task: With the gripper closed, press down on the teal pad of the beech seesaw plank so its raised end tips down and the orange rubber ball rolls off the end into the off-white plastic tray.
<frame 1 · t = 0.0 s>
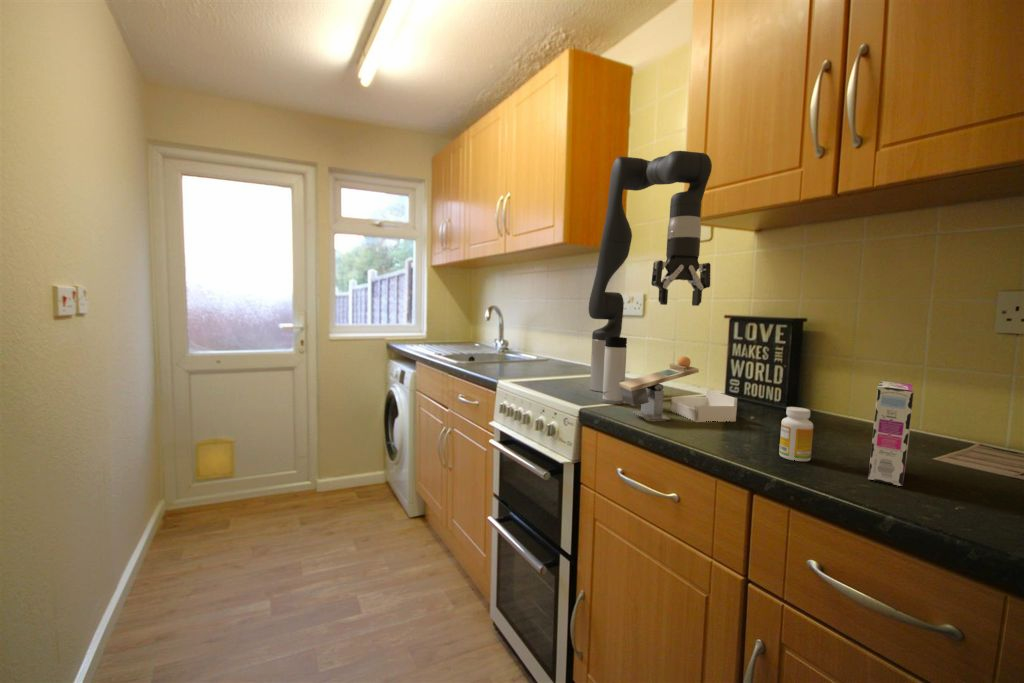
hand: (679, 305, 115), 29 cm above the worktop, tool pointing down, fingers open, 8 cm apart
ball: (684, 362, 124), point 14 cm above the worktop, touching lever
supplement bottle: (794, 458, 93), on the worktop
fulcrum: (651, 416, 124), on the worktop
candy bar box: (886, 477, 84), on the worktop
lever: (659, 382, 123), point 9 cm above the worktop, hinge at -15.0°, touching ball
tray: (701, 416, 127), on the worktop
travel mug: (612, 403, 141), on the worktop
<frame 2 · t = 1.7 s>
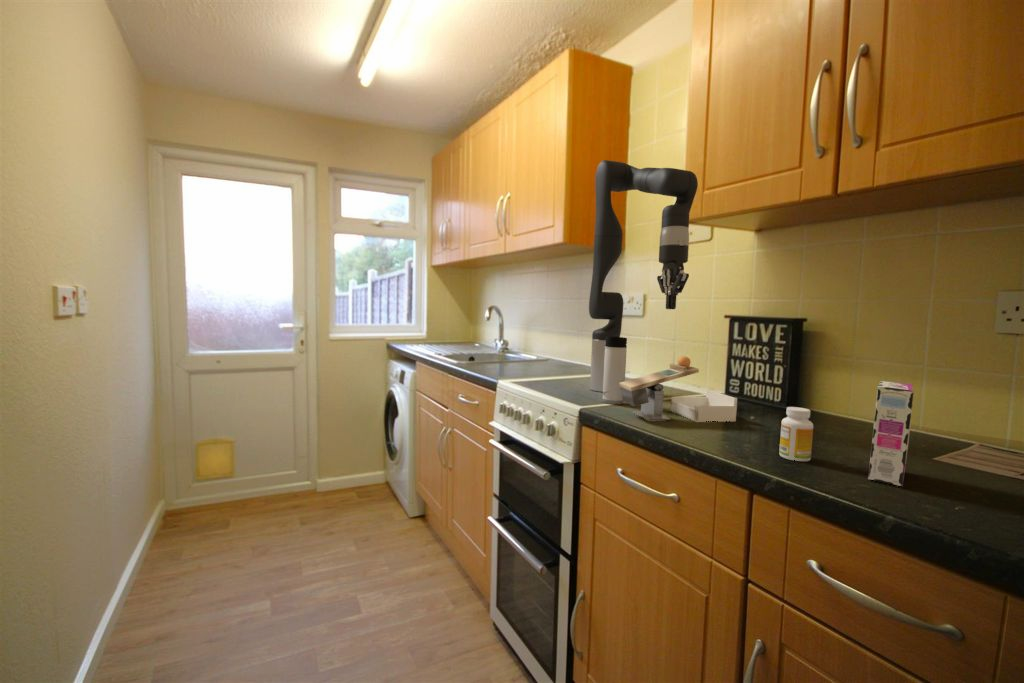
hand: (670, 309, 129), 28 cm above the worktop, tool pointing down, fingers closed
nothing on the worktop moved.
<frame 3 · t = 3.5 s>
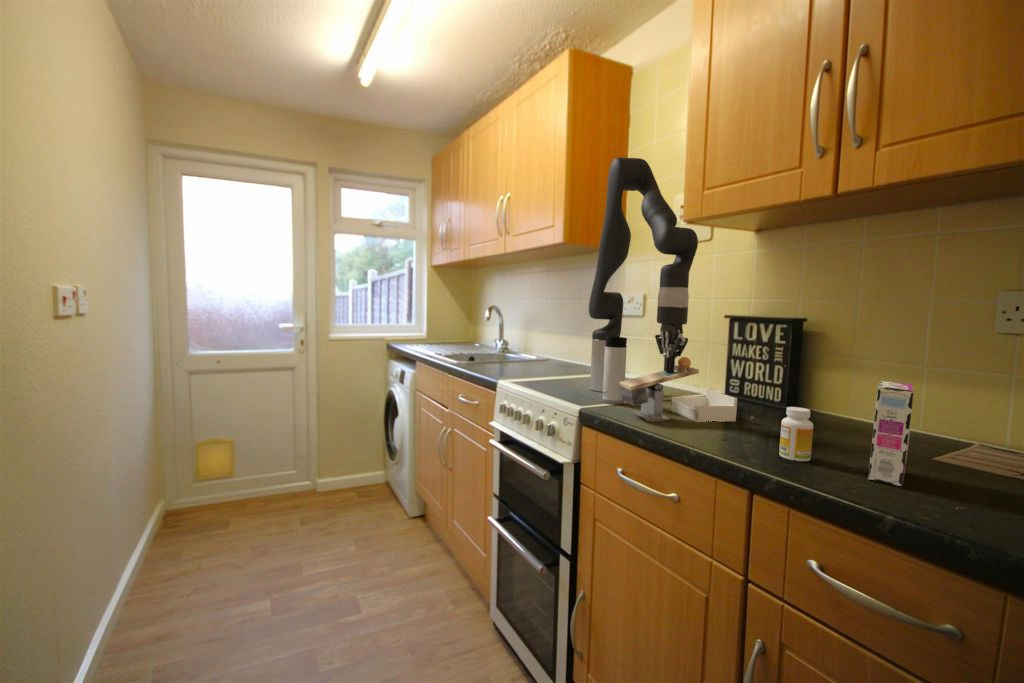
hand: (668, 371, 124), 12 cm above the worktop, tool pointing down, fingers closed
lever: (659, 382, 123), point 9 cm above the worktop, hinge at -13.7°, touching ball, gripper
everything else where it was.
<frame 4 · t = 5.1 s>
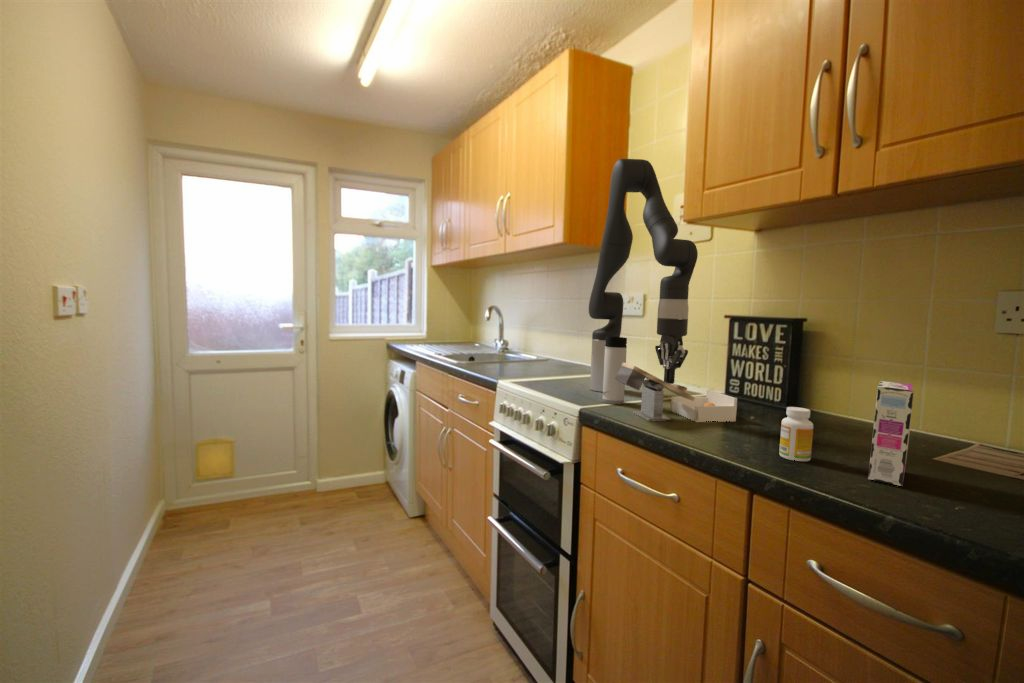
hand: (669, 383, 124), 9 cm above the worktop, tool pointing down, fingers closed
ball: (709, 408, 127), point 2 cm above the worktop, tilted 28°, touching tray
lever: (655, 386, 123), point 8 cm above the worktop, hinge at 25.4°, touching gripper
everything else where it was.
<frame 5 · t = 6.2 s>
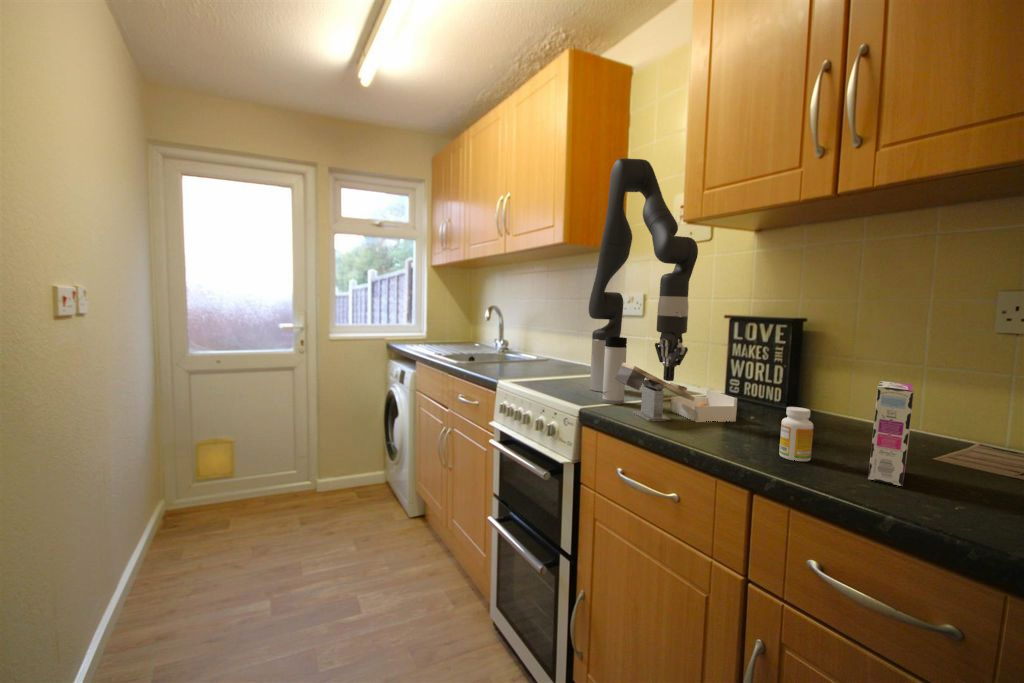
hand: (668, 380, 124), 10 cm above the worktop, tool pointing down, fingers closed
ball: (702, 408, 126), point 2 cm above the worktop, tilted 106°, touching tray
lever: (655, 386, 123), point 8 cm above the worktop, hinge at 25.4°
everything else where it was.
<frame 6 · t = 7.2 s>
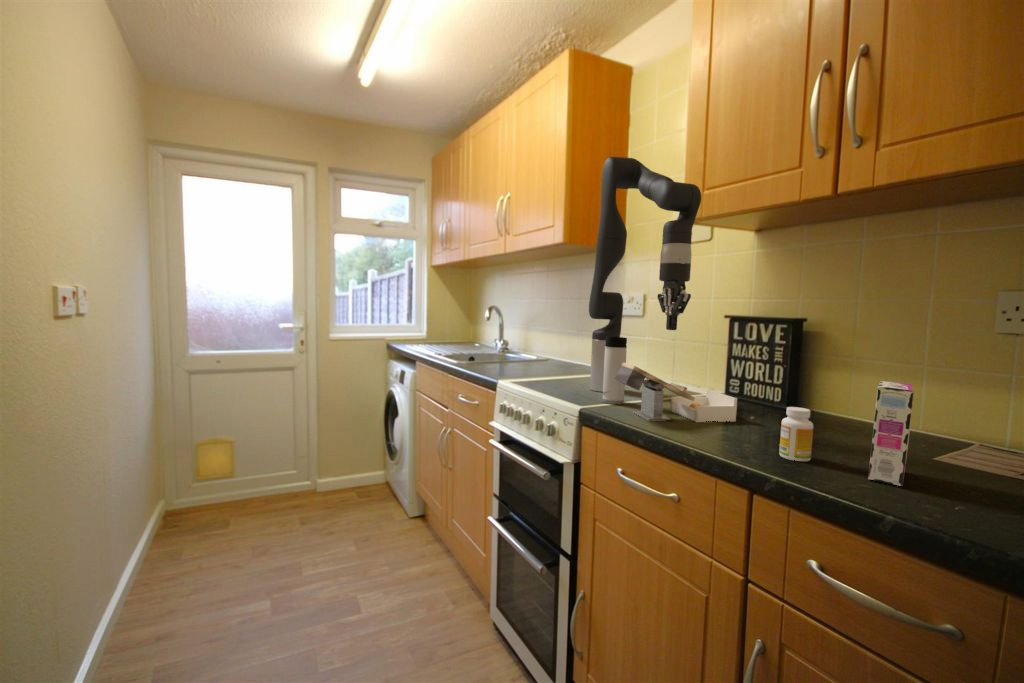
hand: (671, 329, 123), 23 cm above the worktop, tool pointing down, fingers closed
ball: (695, 408, 126), point 2 cm above the worktop, tilted 177°, touching tray
everything else where it was.
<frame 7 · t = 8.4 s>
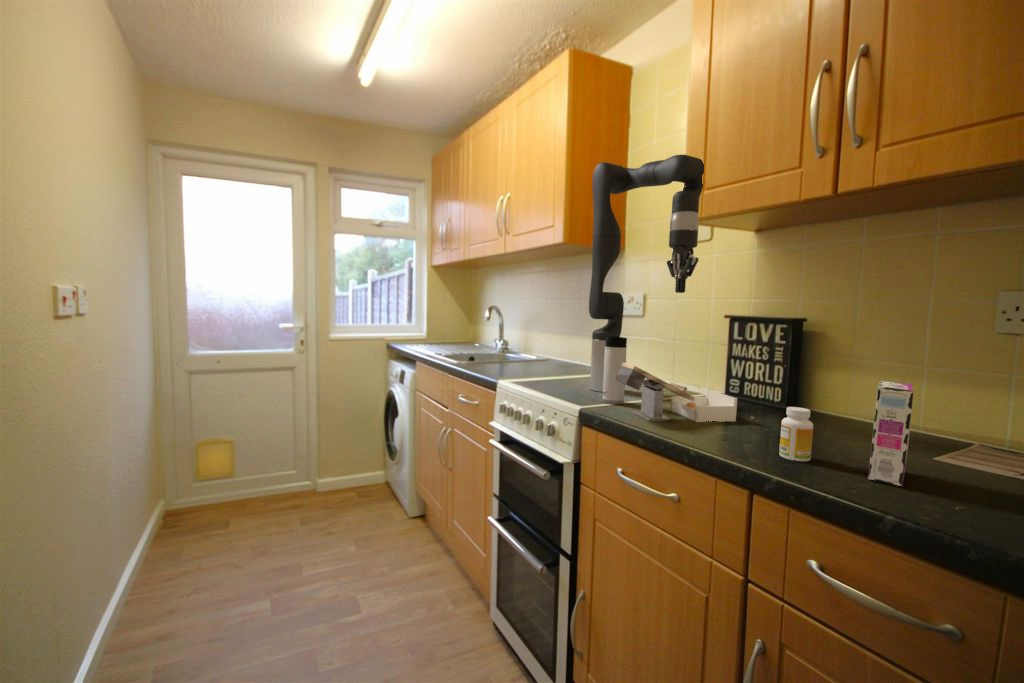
hand: (680, 292, 133), 33 cm above the worktop, tool pointing down, fingers closed
ball: (691, 408, 126), point 2 cm above the worktop, tilted 138°, touching tray
everything else where it was.
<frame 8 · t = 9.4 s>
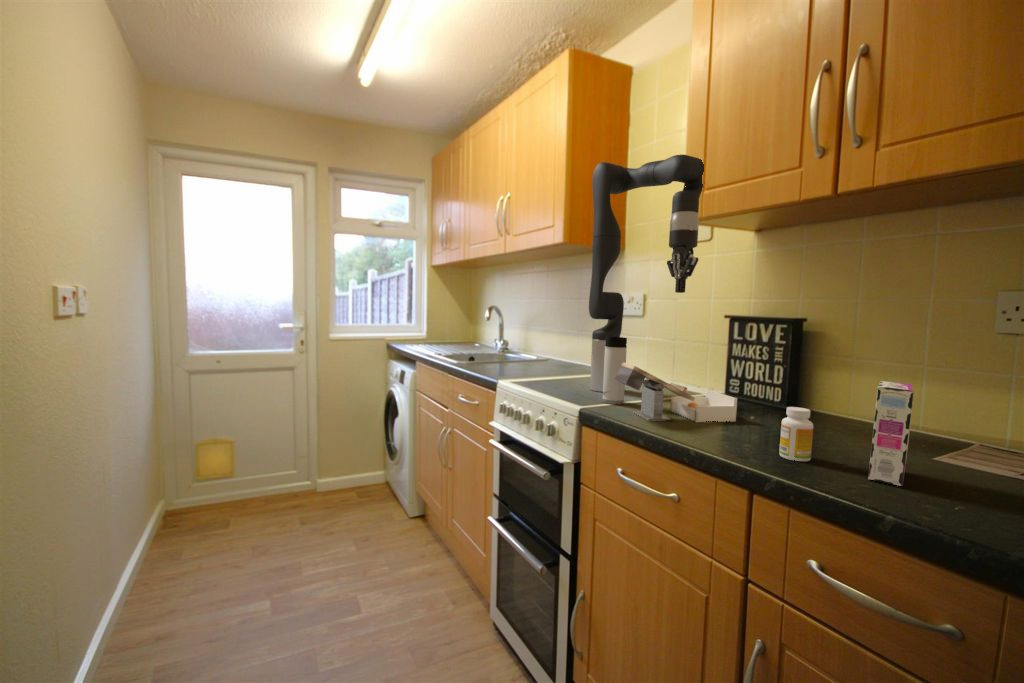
hand: (680, 292, 133), 33 cm above the worktop, tool pointing down, fingers closed
ball: (693, 408, 126), point 2 cm above the worktop, tilted 156°, touching tray
everything else where it was.
at the end: ball inside the target area on the tray (2.8 cm from its centre), point 2.1 cm above the tray's base; ball point 2.1 cm above the worktop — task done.
